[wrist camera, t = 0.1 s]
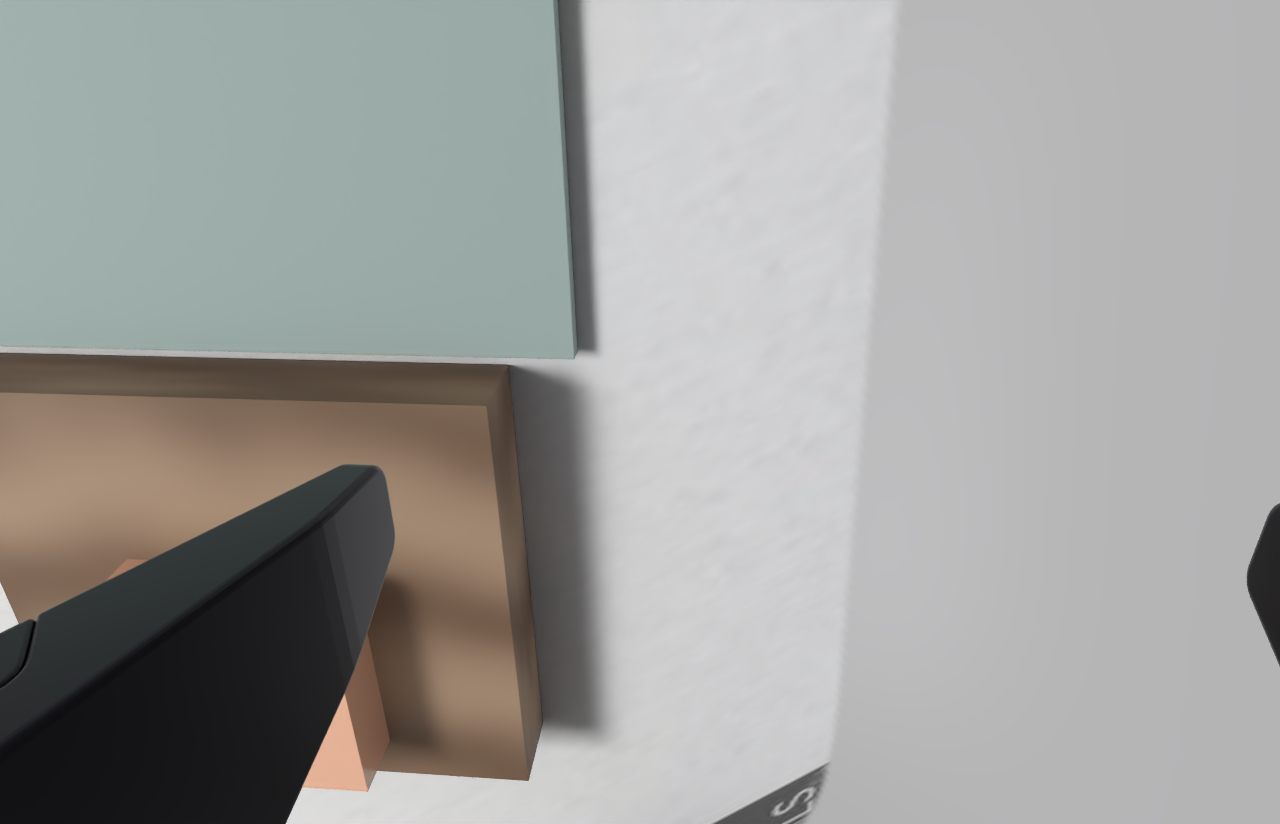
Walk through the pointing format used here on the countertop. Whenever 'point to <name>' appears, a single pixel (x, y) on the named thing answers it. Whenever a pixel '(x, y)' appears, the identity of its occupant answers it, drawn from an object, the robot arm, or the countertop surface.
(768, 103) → the countertop surface
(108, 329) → the mat
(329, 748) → the coaster
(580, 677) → the countertop surface
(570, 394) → the countertop surface
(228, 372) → the wooden block
